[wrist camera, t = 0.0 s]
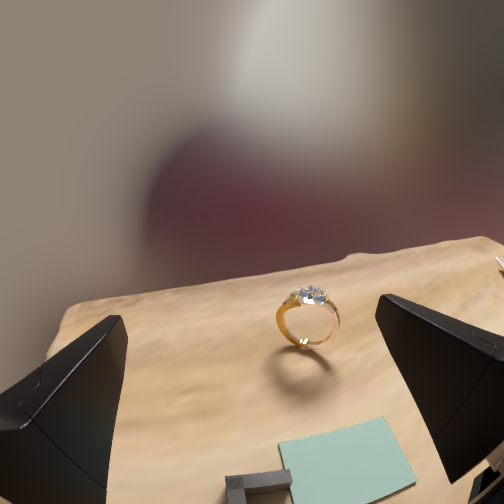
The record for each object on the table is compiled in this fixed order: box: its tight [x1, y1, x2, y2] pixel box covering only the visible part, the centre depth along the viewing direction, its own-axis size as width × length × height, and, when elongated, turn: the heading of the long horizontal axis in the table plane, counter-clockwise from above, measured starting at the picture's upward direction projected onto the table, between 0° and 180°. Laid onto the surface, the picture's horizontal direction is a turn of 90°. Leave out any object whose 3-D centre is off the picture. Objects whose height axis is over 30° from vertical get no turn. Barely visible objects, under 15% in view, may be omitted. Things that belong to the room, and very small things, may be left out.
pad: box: [279, 416, 417, 504], centre depth 16 cm, size 8×10×1 cm
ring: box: [276, 284, 340, 350], centre depth 29 cm, size 7×3×8 cm, turn 59°
